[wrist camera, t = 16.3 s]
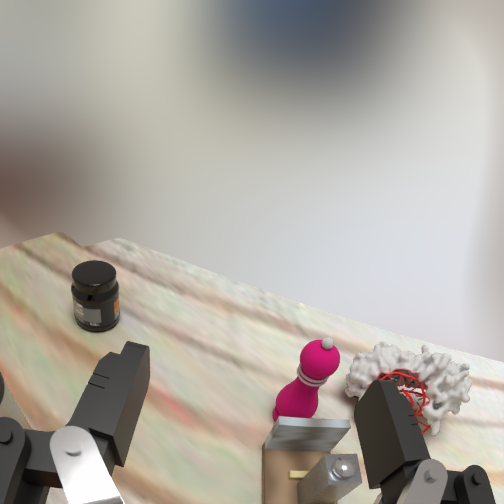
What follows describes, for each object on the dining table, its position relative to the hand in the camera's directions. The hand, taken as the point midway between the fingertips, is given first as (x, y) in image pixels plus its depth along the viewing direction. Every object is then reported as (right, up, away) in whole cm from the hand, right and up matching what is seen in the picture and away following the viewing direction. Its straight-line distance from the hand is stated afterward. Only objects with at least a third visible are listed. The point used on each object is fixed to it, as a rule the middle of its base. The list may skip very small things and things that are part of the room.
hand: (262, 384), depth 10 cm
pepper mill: (+6, -25, +40) cm, 48 cm away
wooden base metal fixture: (+6, -33, +24) cm, 41 cm away
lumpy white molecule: (+28, -29, +43) cm, 59 cm away
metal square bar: (+8, -31, +24) cm, 40 cm away
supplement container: (-34, -10, +51) cm, 63 cm away
